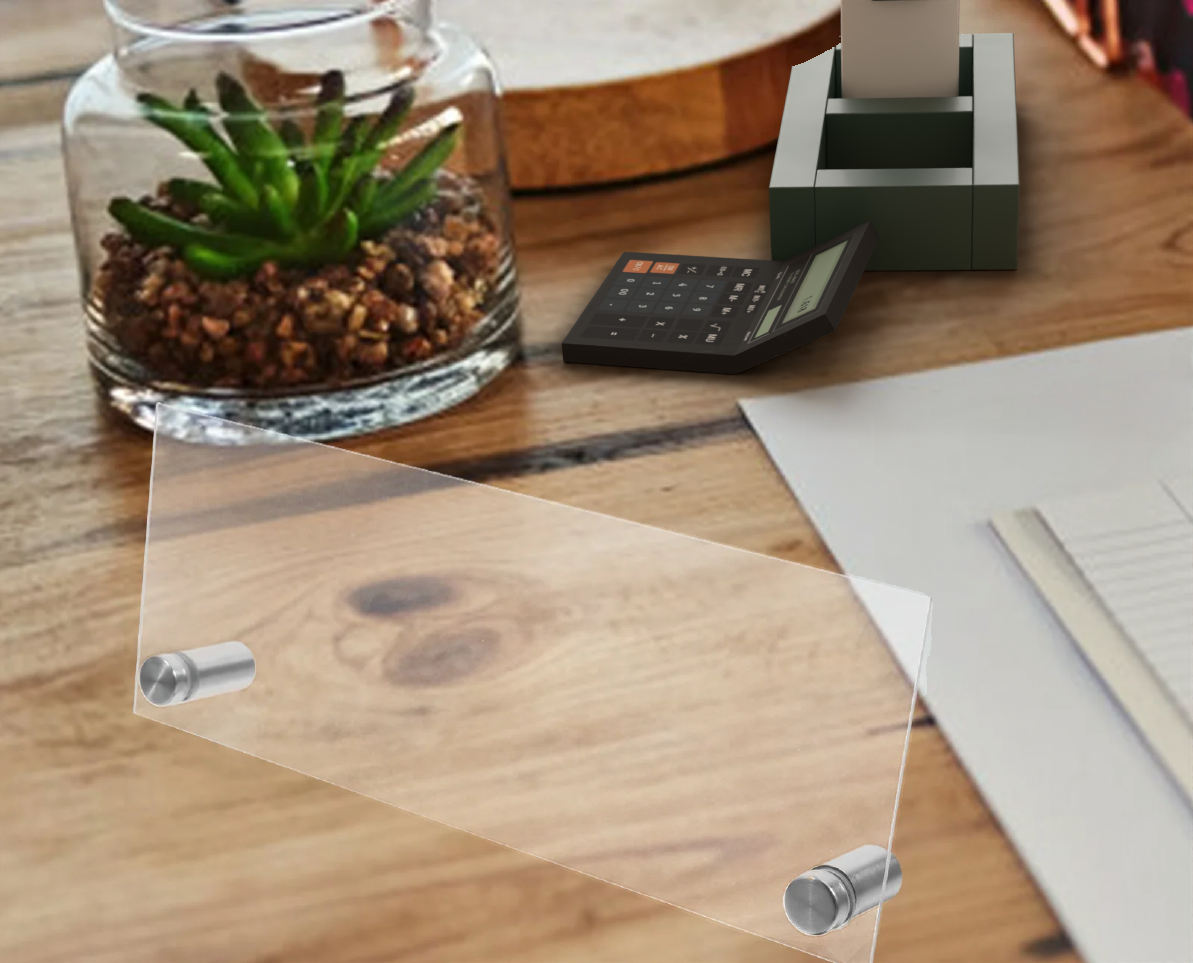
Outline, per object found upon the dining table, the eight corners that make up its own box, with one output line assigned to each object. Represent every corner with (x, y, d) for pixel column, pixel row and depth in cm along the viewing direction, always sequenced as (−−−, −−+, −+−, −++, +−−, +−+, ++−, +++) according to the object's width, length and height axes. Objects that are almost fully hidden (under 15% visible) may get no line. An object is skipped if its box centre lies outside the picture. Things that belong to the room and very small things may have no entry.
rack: (1011, 108, 119) (1013, 32, 117) (1017, 270, 102) (1019, 184, 100) (799, 112, 120) (797, 36, 118) (771, 271, 104) (768, 187, 102)
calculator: (624, 269, 105) (620, 206, 104) (880, 284, 102) (879, 221, 100) (563, 361, 98) (557, 296, 96) (836, 381, 95) (835, 314, 93)
